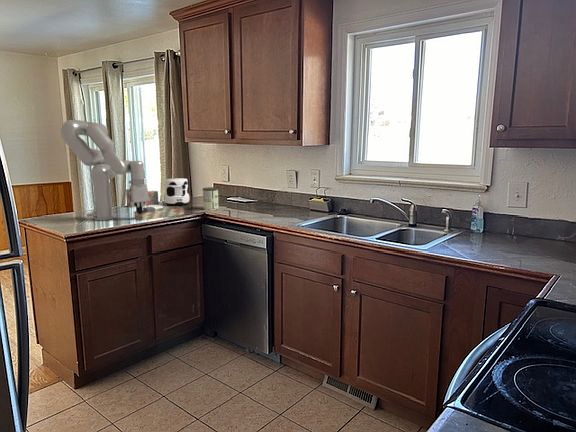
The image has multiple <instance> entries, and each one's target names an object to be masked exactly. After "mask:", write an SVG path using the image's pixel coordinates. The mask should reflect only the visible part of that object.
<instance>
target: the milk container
mask: <svg viewBox="0 0 576 432" xmlns="http://www.w3.org/2000/svg"><path fill="white" fill-rule="evenodd" d="M188 188H189V185H188V178H184V177H183V178H181V177H180V178H179V177H177V178H176V177H175V178H165V179H164V189H165V192H164V196H163V197H164V199H163V200H164V203H165V204H167V205H168V206H169V205H171V206H183V205H187V204H189V202H190V194H189V189H188Z"/></svg>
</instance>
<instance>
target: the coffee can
mask: <svg viewBox="0 0 576 432" xmlns="http://www.w3.org/2000/svg"><path fill="white" fill-rule="evenodd" d="M202 204H203V205H202V206H203V210H204V211H217V210H216V209H218V210H219V209H220V207H219V205H220V204H219V188H218V187H216V186H215V187H213V186H211V187H203V188H202Z"/></svg>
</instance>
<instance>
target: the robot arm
mask: <svg viewBox="0 0 576 432" xmlns="http://www.w3.org/2000/svg"><path fill="white" fill-rule="evenodd" d="M60 134H61V137H62V140H63V141H64V143H66V145H67V146H68V147H69V148H70V149H71V151H72V152H73V153H74V155H75V156H76V157H77V158H78V159H79V160H80V162H81V163H82V165H85V166H86V167H92V168H91V170H90V177H91V181H92V187H93V200H94V201H93V203H94V211H93V212H91V213H86V217H87V218H91V217H92V219H93V220H94V221H108V220H109V221H110V220H115V219H116V218H117V215H115V214H114V211H113V210H114V209H113V195H112V185H111V182H110V180H112V179H114V178H115V177H116V176H117V175H124V174H130V180H129V181H128V184H130V185H129V189H130V190H129V200H130V204H131V205H135V207H134V208H136V211H137V214H141V213H142V212H143V208H144V206H143V205H144V204H145V203H148V200H149V195H148V191H149V190H148V186H147V184H146V181H145V167H144V162H143V161H142V160H127V159H126V160H121V159H120V158H119V157H118V155H117V154H116V152H115V150H114V148H115V143H114V141H113V140H112V139H111V138H110V137H109V130H108V127H107V126H106V125H105V124H103V123H98V122H92V121H87V120H78V119H69V120H66V121H65V122H63V124H62V126H61V128H60ZM80 136H85V137H89V139H90V140H91V141H92V142H93V143H94V145H95V146H96V147H97V148H98V149H97V148H91V147H90V146H89V145H88V143H87V142H86V141H85V140H84V139H83V138H82V137H80ZM133 202H134V203H133Z"/></svg>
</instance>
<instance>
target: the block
mask: <svg viewBox="0 0 576 432" xmlns="http://www.w3.org/2000/svg"><path fill="white" fill-rule="evenodd" d="M142 208H143V213H147V212H155V209H156V208H155V207H153V206H144V207H142Z"/></svg>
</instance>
